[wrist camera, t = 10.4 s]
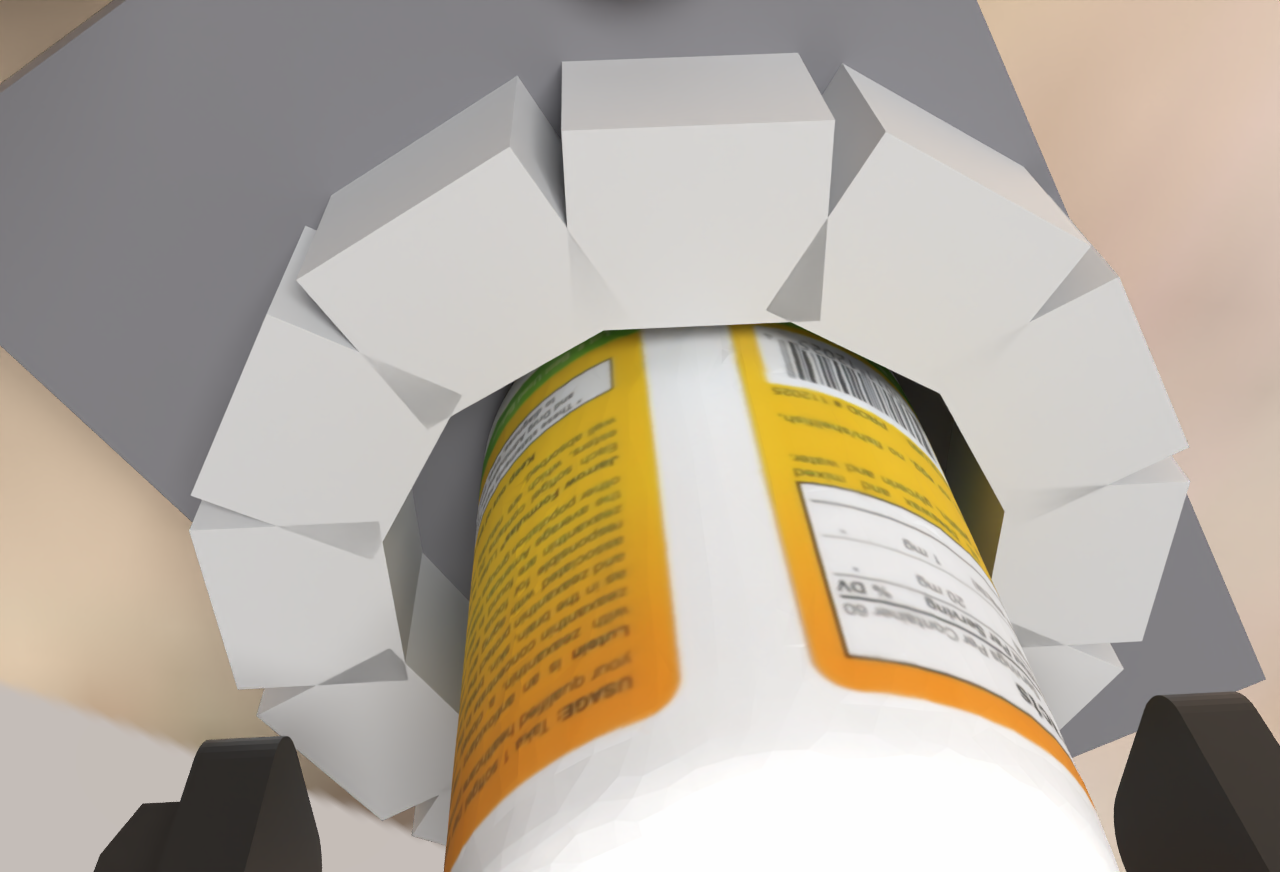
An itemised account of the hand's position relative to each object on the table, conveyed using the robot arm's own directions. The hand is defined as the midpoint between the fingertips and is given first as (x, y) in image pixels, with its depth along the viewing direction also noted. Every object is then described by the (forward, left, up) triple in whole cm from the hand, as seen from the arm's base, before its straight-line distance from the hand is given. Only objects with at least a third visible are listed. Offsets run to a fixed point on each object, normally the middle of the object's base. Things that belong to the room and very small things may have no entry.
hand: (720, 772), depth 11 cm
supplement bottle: (0, 0, -5) cm, 5 cm away
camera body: (0, 0, -9) cm, 9 cm away
